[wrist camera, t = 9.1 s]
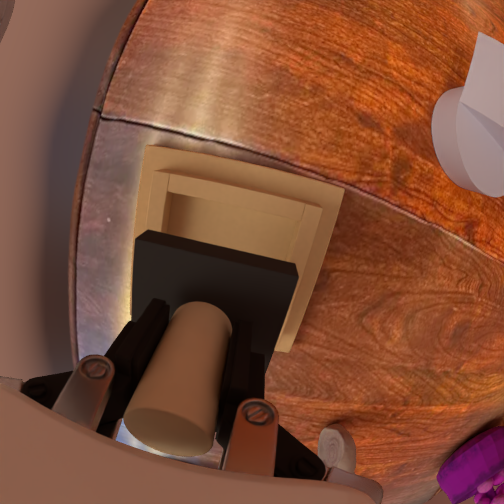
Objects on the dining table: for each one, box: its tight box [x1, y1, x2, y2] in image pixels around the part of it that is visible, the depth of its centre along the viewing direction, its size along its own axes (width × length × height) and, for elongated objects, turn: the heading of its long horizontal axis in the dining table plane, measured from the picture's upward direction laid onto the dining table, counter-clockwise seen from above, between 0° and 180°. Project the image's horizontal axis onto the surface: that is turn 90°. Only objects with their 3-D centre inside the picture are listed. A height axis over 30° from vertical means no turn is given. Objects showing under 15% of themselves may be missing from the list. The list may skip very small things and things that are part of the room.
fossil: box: [318, 424, 356, 474], centre depth 23 cm, size 6×4×10 cm, turn 158°
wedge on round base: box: [431, 32, 504, 197], centre depth 13 cm, size 9×7×13 cm
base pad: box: [130, 145, 345, 353], centre depth 20 cm, size 14×14×2 cm
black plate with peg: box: [123, 229, 299, 457], centre depth 10 cm, size 7×7×8 cm
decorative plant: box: [437, 426, 504, 504], centre depth 20 cm, size 19×18×30 cm
